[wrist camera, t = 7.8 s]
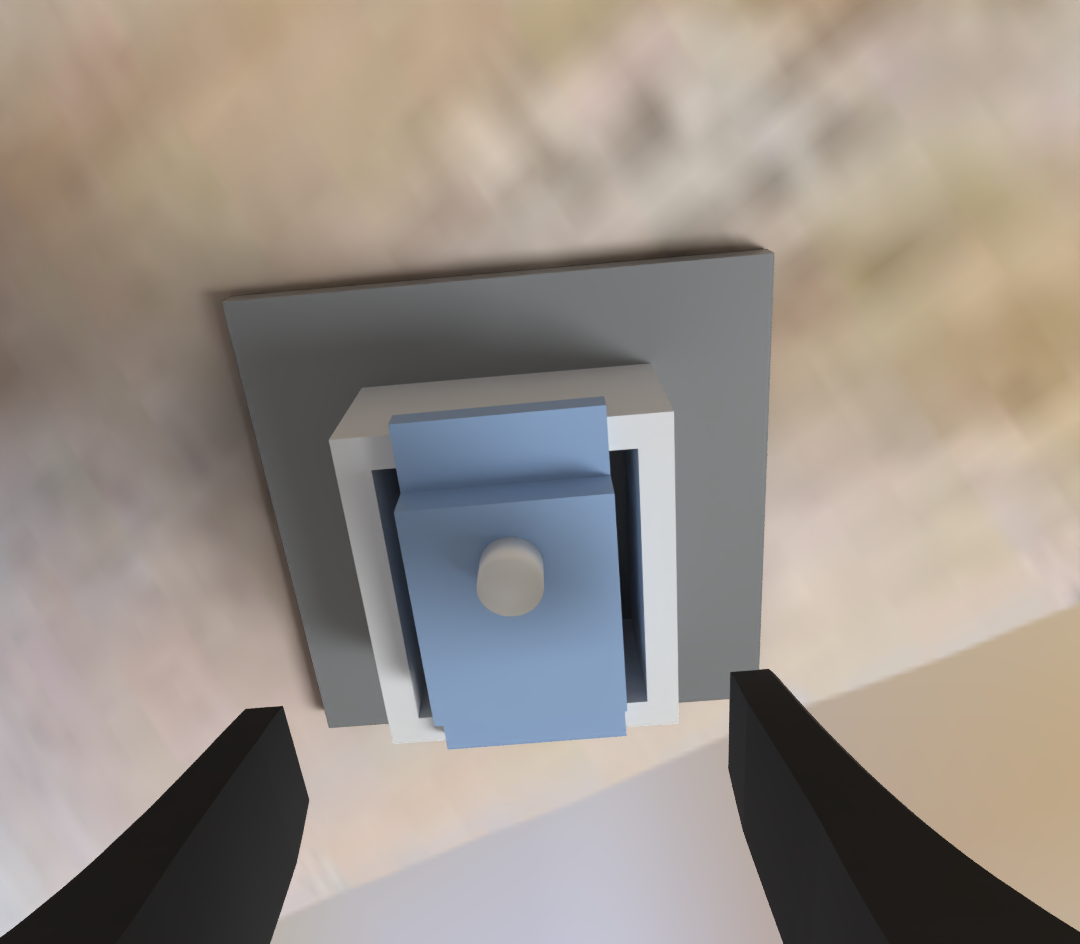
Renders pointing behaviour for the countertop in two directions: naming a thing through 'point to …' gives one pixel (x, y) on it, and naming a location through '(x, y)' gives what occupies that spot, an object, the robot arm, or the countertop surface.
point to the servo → (513, 570)
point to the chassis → (515, 378)
